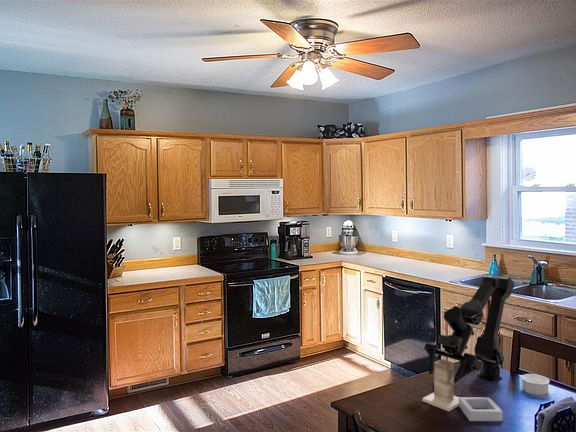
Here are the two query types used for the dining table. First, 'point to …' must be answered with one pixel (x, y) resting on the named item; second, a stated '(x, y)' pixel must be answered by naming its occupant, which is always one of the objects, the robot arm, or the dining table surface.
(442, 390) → the peg
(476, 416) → the holder
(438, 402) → the tile
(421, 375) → the dining table surface
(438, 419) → the dining table surface
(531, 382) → the ramekin
